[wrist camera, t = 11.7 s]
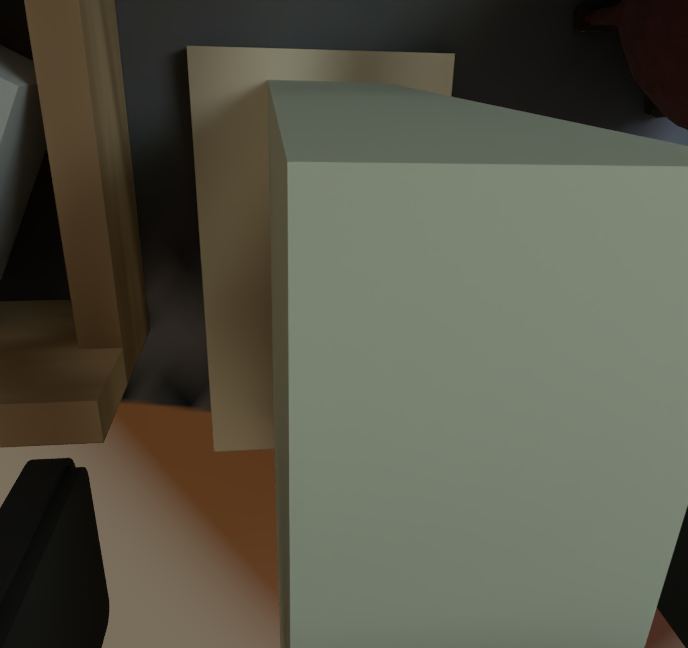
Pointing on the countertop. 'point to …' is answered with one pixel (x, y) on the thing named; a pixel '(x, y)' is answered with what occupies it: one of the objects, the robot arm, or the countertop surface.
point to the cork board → (258, 208)
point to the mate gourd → (648, 48)
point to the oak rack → (78, 241)
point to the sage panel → (473, 371)
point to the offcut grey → (17, 144)
